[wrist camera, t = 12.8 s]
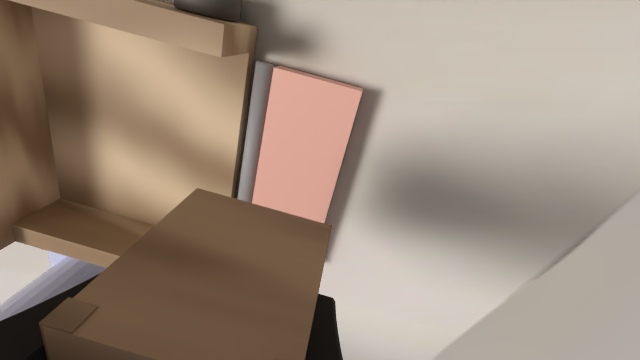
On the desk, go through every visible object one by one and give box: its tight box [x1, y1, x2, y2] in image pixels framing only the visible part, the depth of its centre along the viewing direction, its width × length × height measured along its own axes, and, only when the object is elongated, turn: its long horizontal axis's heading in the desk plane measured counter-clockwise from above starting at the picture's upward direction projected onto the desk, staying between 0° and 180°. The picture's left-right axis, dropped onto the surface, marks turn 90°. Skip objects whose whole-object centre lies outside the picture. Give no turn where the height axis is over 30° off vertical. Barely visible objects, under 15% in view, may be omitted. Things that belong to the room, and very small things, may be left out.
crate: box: [39, 188, 332, 360], centre depth 9 cm, size 5×5×6 cm
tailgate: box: [237, 61, 363, 223], centre depth 18 cm, size 11×1×6 cm
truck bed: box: [0, 0, 258, 268], centre depth 17 cm, size 16×13×5 cm
